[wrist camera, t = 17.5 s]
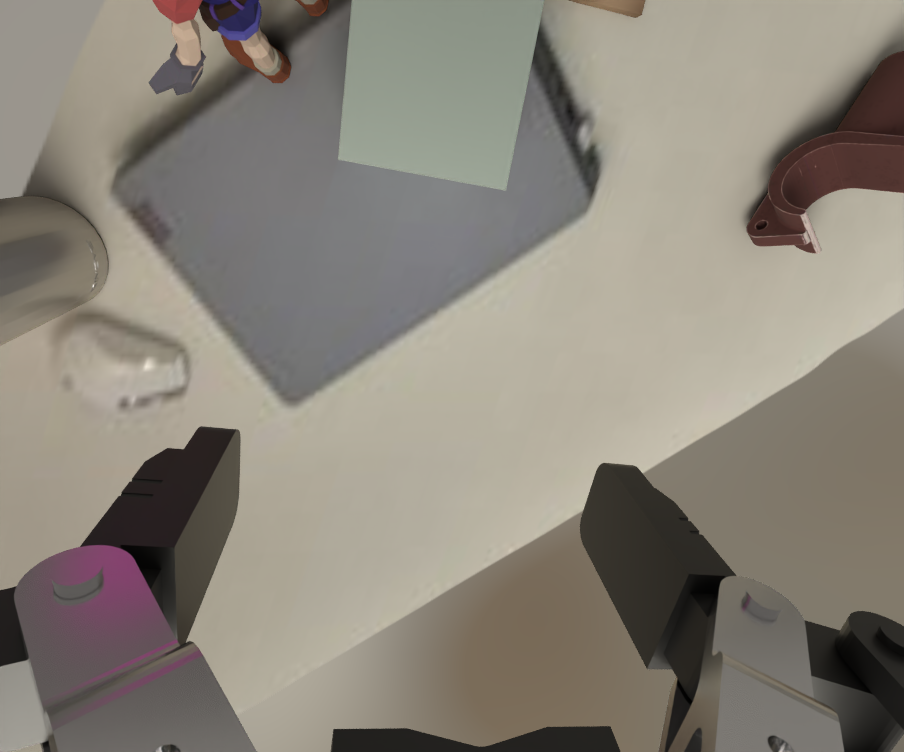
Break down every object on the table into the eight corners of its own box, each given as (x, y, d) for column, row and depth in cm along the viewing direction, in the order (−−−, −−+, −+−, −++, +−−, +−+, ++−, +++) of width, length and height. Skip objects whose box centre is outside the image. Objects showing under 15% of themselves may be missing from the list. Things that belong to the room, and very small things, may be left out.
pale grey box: (350, 157, 43) (338, 159, 32) (370, -57, 38) (365, -151, 26) (473, 180, 45) (505, 190, 33) (509, -20, 40) (563, -93, 28)
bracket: (733, 220, 47) (857, 242, 39) (842, 52, 46) (991, 40, 38) (753, 255, 51) (869, 281, 43) (854, 101, 50) (991, 100, 42)
